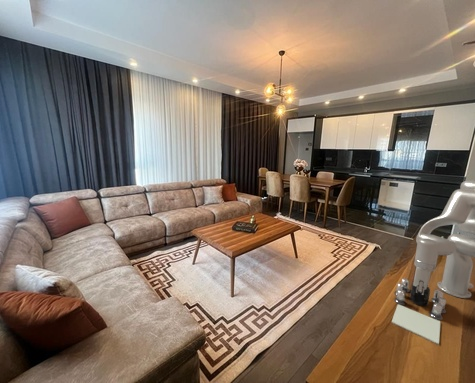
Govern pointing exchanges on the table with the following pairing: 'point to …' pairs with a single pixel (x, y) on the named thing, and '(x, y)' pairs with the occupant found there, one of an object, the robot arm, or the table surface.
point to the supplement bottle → (426, 296)
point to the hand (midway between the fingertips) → (419, 296)
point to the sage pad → (417, 323)
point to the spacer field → (437, 300)
